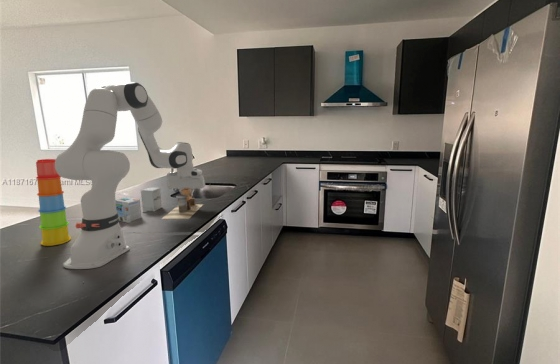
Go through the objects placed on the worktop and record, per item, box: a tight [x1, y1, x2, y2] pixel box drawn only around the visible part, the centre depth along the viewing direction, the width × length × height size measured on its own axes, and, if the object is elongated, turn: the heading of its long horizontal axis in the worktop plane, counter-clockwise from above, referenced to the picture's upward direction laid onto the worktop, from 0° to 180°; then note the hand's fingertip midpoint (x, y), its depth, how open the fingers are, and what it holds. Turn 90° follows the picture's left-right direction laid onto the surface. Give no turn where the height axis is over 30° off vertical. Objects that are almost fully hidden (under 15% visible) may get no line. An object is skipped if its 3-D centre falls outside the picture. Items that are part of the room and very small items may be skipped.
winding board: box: [161, 194, 205, 220], centre depth 161 cm, size 26×14×10 cm, turn 178°
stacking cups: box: [35, 158, 72, 247], centre depth 122 cm, size 10×10×35 cm
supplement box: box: [140, 187, 163, 214], centre depth 165 cm, size 7×7×13 cm
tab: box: [182, 189, 193, 201], centre depth 167 cm, size 5×3×6 cm, turn 178°
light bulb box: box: [115, 196, 143, 224], centre depth 151 cm, size 11×7×11 cm, turn 62°
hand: (187, 196), depth 167 cm, fingers closed on tab, 3 cm apart
